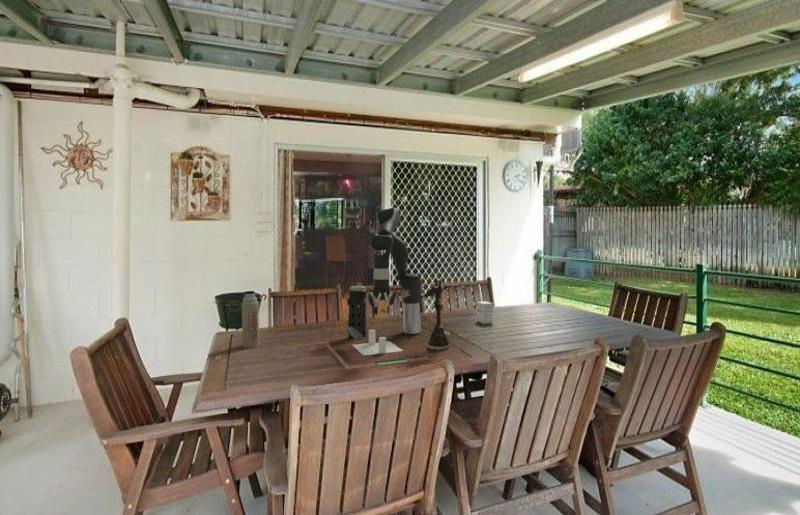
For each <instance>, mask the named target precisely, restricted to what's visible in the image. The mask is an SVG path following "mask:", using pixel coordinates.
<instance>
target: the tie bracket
mask: <svg viewBox="0 0 800 515" xmlns="http://www.w3.org/2000/svg"><path fill="white" fill-rule="evenodd" d="M352 346H353V348H355V349H356V350H357V351H358V352H359V353H360V354H361V355H362V356H371V355H377V354H378V355H379V354H380V355H381V354H387V353H397V352H403V351H404V350H403V349H402V348H400V347H398V346H397V345H396V344H394V343H393V342H392V341H389V340H388V341H387V337H386V336H381V337H378V342H376V330H375V329H373V328H372V329H368V343H367V342H366V343H358V344H352Z"/></svg>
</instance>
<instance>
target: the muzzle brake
mask: <svg viewBox="0 0 800 515" xmlns="http://www.w3.org/2000/svg"><path fill="white" fill-rule="evenodd" d="M367 293H368V292H367V289H366V286H365V285H352V286H350V287H349V290H348V298H347V301H346V303H347V306H348V315H347V317H348V320H347V327H353V328H354V329H356V330H357V331H358V332H359V333H361V334H362V335H363V339H364V338H367V301H366V299H367V298H368V297H367ZM347 335H348V338H349V339H351V340H356V339H355V338H354V337H352V336H351V335H350V334H349V333H348V332H347Z"/></svg>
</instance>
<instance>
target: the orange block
mask: <svg viewBox="0 0 800 515" xmlns="http://www.w3.org/2000/svg"><path fill="white" fill-rule="evenodd" d="M374 315H375V314H374ZM375 318H377V319H386V318H388V314H387V302H384V300H379V302H378V305H377V315H375Z"/></svg>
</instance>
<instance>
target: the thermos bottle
mask: <svg viewBox="0 0 800 515" xmlns="http://www.w3.org/2000/svg"><path fill="white" fill-rule="evenodd" d="M255 293H256V292H255V291H254V290H246V291H244V297H243V298H242V301H243V302H241V321H242V322H241V324H242V327H241V328H242V329H241V330H242V347H243V348H246V349H247V348H248V349H250V348H257V347H259V346H260V319H259V318H260V317H259V316H260V315H259V313H260V312H259V301H258V297H257V296H256V294H255Z"/></svg>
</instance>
